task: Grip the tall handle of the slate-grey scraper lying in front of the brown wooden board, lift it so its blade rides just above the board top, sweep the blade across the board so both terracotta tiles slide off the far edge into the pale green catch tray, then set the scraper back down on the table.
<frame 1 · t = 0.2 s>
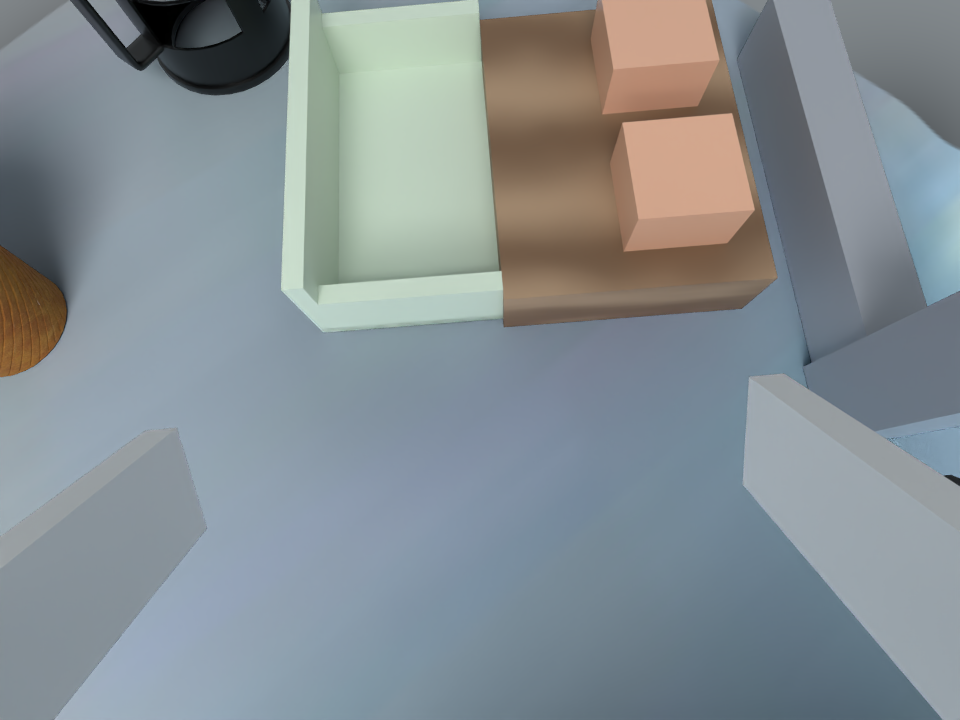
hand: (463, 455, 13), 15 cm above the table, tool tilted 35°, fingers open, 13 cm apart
scraper: (850, 401, 28), on the table
tile a: (666, 202, 27), point 4 cm above the table, touching brown wooden board
french press: (224, 45, 36), on the table
tile b: (642, 71, 29), point 4 cm above the table, touching brown wooden board
brown wooden board: (602, 182, 32), on the table
tray: (407, 184, 32), on the table
disposable coffee cup: (16, 325, 31), on the table
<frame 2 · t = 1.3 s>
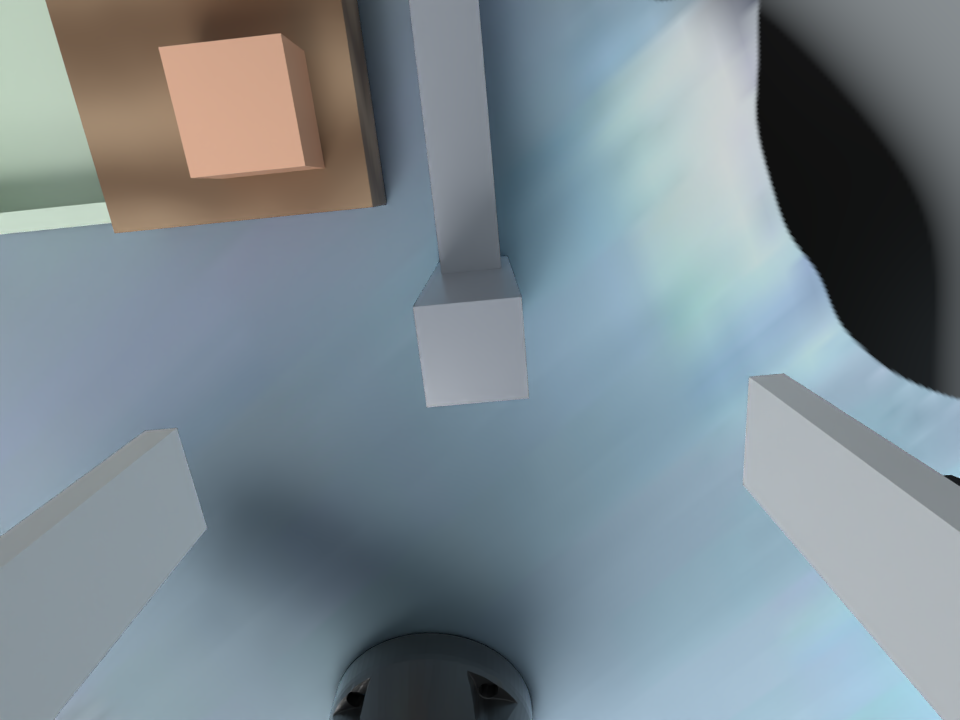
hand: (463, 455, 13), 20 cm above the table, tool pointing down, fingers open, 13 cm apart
scraper: (476, 293, 32), on the table
tile a: (262, 117, 25), point 4 cm above the table, touching brown wooden board
brown wooden board: (237, 46, 28), on the table
tray: (15, 49, 28), on the table
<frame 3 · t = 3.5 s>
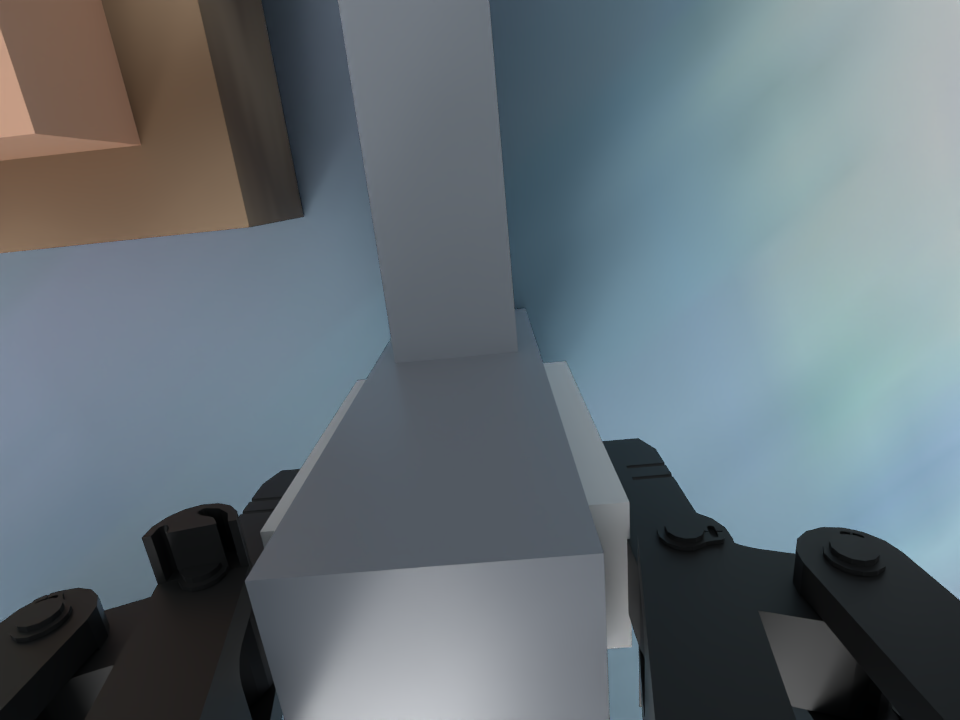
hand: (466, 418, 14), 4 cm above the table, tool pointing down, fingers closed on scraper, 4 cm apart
scraper: (469, 372, 18), on the table, touching gripper
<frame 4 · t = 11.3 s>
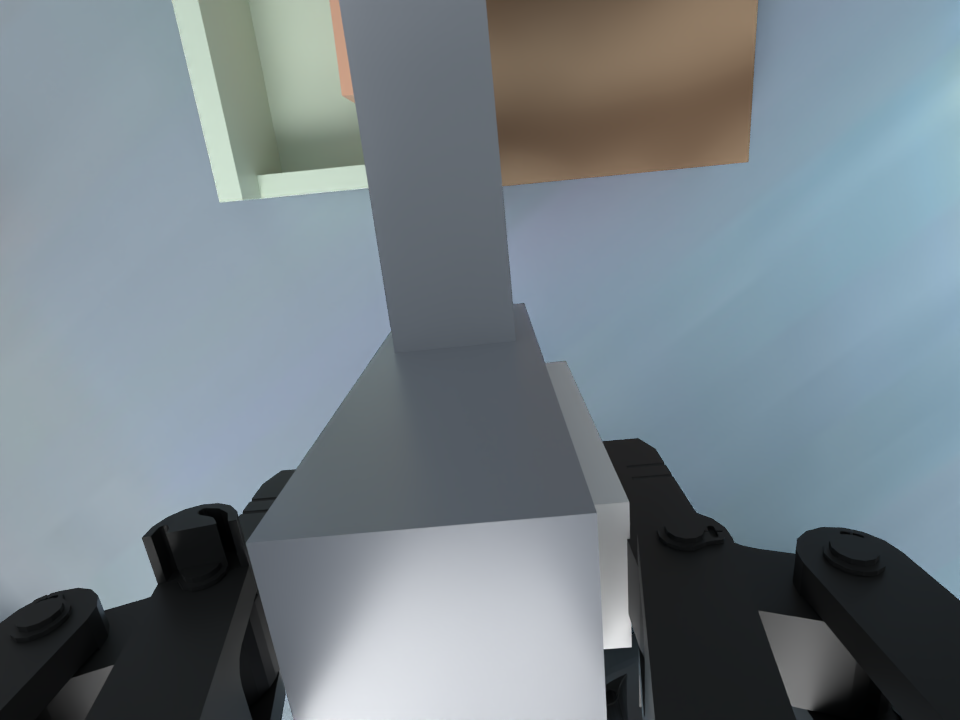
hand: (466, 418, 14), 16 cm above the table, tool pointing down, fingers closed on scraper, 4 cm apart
scraper: (469, 367, 18), point 13 cm above the table, touching gripper
tile a: (416, 35, 23), point 3 cm above the table, tilted 90°, touching tray
when the fingers open (5 cm above the table, at t = 14.9 s): scraper stays where it is, on the table.
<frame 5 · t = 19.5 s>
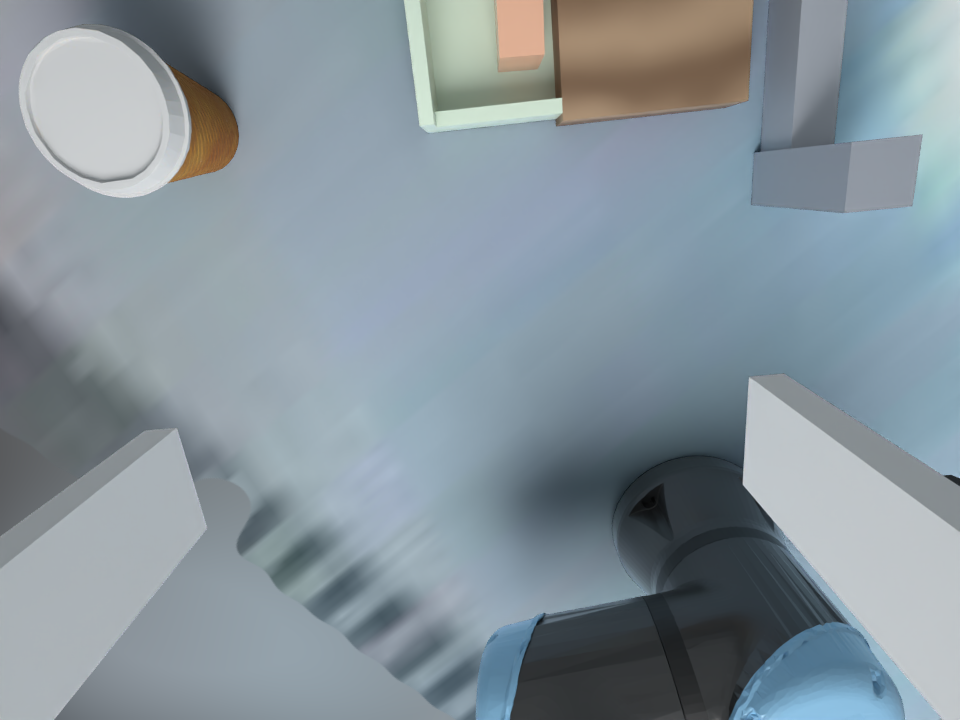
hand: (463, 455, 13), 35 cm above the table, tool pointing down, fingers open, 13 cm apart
scraper: (777, 176, 43), on the table
tile a: (539, 21, 37), point 3 cm above the table, tilted 90°, touching tray
disposable coffee cup: (200, 131, 43), on the table
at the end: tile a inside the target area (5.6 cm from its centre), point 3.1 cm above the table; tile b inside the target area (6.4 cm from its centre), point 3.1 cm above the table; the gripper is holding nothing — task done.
